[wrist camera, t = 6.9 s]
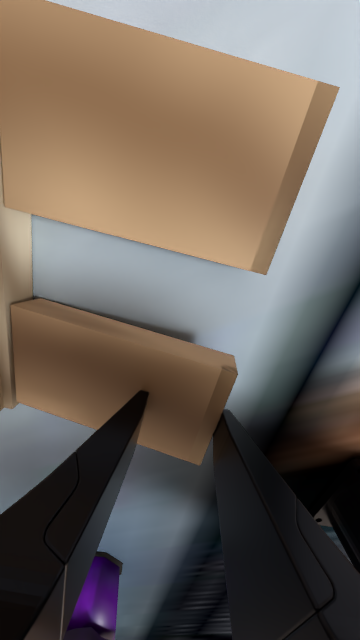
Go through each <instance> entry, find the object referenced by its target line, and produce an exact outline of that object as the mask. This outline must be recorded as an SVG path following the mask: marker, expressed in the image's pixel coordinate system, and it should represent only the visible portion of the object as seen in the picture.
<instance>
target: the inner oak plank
mask: <svg viewBox="0 0 360 640" xmlns="http://www.w3.org/2000/svg"><path fill="white" fill-rule="evenodd" d="M11 320H12V336H13V352H14V368H15V383H16V399H17V402H19V403H22V404H24V405H27V406H30V407H33V408H36V409H39V410H42V411H45V412H47V413H50V414H53V415H56V416H59V417H62V418H65V419H68V420H70V421H73V422H76V423H79V424H82V425H85V426H88V427H90V428H93V429H96V430H98V429H99V428H100V427H101V426H102V425H103V424H104V423H105V422H107V421H108V420H109V419H110V418H111V417H112V416H113V415H114V414H115V413H116V412H117V411H118V410H119V409H120V408H121V407H122V406H123V405H125V404H126V403H127V402H128V401H129V400H130V399H131V398H132V397H133V396H134V395H135V394H136V393H137V392H138V391H139V390H144V391H148V392H149V397H148V401H147V406H146V410H145V414H144V418H143V421H142V425H141V429H140V433H139V437H138V440H137V444H139V445H142V446H145V447H148V448H151V449H154V450H157V451H159V452H162V453H165V454H168V455H171V456H174V457H177V458H180V459H182V460H185V461H188V462H191V463H194V464H197V465H201V462H202V460H203V457H204V455H205V453H206V450H207V448H208V445H209V443H210V440H211V438H212V436H213V433H214V431H215V428H216V426H217V424H218V421H219V419H220V416H221V414H222V412H223V409H224V407H225V404H226V402H227V400H228V397H229V395H230V392H231V390H232V387H233V385H234V383H235V380H236V378H237V375H238V372H237V368H236V363H235V358H234V356H233V355H230V354H226V353H223V352H220V351H216V350H213V349H210V348H206V347H203V346H200V345H196V344H193V343H189V342H186V341H183V340H179V339H176V338H173V337H169V336H166V335H163V334H159V333H156V332H153V331H149V330H146V329H143V328H139V327H136V326H132V325H129V324H126V323H122V322H119V321H116V320H112V319H109V318H106V317H102V316H99V315H96V314H92V313H89V312H86V311H82V310H79V309H75V308H72V307H69V306H65V305H62V304H59V303H55V302H52V301H49V300H45V299H42V298H39V299H34V300H30V301H26V302H21V303H17V304H12V305H11Z"/></svg>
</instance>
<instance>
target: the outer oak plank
mask: <svg viewBox="0 0 360 640" xmlns="http://www.w3.org/2000/svg"><path fill="white" fill-rule="evenodd" d="M339 88H340V87H337V86H333V85H330V84H326V83H323V82H320V81H316V80H313V79H309V78H306V77H303V76H299V75H296V74H292V73H289V72H286V71H282V70H279V69H276V68H272V67H269V66H265V65H262V64H259V63H255V62H252V61H248V60H245V59H242V58H238V57H235V56H232V55H228V54H225V53H221V52H218V51H215V50H211V49H208V48H204V47H201V46H198V45H194V44H191V43H188V42H184V41H181V40H177V39H174V38H171V37H167V36H164V35H160V34H157V33H154V32H150V31H147V30H144V29H140V28H137V27H133V26H130V25H127V24H123V23H120V22H116V21H113V20H110V19H106V18H103V17H100V16H96V15H93V14H89V13H86V12H83V11H79V10H76V9H72V8H69V7H66V6H62V5H59V4H56V3H52V2H49V1H45V0H0V136H1V152H2V169H3V185H4V201H5V207H6V208H10V209H14V210H18V211H22V212H25V213H29V214H33V215H37V216H41V217H45V218H49V219H52V220H56V221H60V222H64V223H68V224H72V225H75V226H79V227H83V228H87V229H91V230H95V231H99V232H102V233H106V234H110V235H114V236H118V237H122V238H125V239H129V240H133V241H137V242H141V243H145V244H148V245H152V246H156V247H160V248H164V249H168V250H172V251H175V252H179V253H183V254H187V255H191V256H195V257H198V258H202V259H206V260H210V261H214V262H218V263H222V264H225V265H229V266H233V267H237V268H241V269H245V270H248V271H252V272H256V273H260V274H264V275H266V274H267V272H268V269H269V266H270V264H271V261H272V259H273V256H274V254H275V251H276V249H277V246H278V243H279V241H280V238H281V236H282V233H283V231H284V228H285V226H286V223H287V221H288V218H289V215H290V213H291V210H292V208H293V205H294V203H295V200H296V198H297V195H298V192H299V190H300V187H301V185H302V182H303V180H304V177H305V175H306V172H307V170H308V167H309V164H310V162H311V159H312V157H313V154H314V152H315V149H316V147H317V144H318V141H319V139H320V136H321V134H322V131H323V129H324V126H325V124H326V121H327V118H328V116H329V113H330V111H331V108H332V106H333V103H334V101H335V98H336V96H337V93H338V90H339Z"/></svg>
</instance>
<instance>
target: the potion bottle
mask: <svg viewBox="0 0 360 640" xmlns="http://www.w3.org/2000/svg"><path fill="white" fill-rule="evenodd" d="M122 564H123V563H122V562H120V561H118V560H117V559H115V558H114V557H112V556H111V555H109V554H107V553H103V552H96V554H95V556H94V559H93V562H92V564H91V567H90V570H89V572H88V575H87V577H86V580H85V583H84V585H83V588H82V591H81V593H80V596H79V598H78V601H77V604H76V606H75V609H74V612H73V614H72V617H71V619H70V622H69V625H68V627H67V630H66V633H65V635H64V638H63V640H114V639H115V630H116V615H117V600H118V586H119V575H121V572H122Z"/></svg>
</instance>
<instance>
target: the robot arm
mask: <svg viewBox="0 0 360 640" xmlns="http://www.w3.org/2000/svg"><path fill="white" fill-rule="evenodd" d="M148 397H149V392H148V391H144V390H139V391H138V392H137V393H136V394H135V395H134V396H133V397H132V398H131V399H130V400H129V401H128V402H127V403H126V404H125V405H123V406H122V407H121V408H120V409H119V410H118V411H117V412H116V413H115V414H114V415H113V416H112V417H111V418H110V419H109V420H108V421H107V422H105V423H104V424H103V425H102V426H101V427H100V428H99V429H98V430H97V431H96V432H95V433H94V434H93V435H92V436H91V437H90V438H89V439H87V440H86V441H85V442H84V443H83V444H82V445H81V446H80V447H79V448H78V449H77V450H76V452H74V453H72V454H71V455H70V456H69V457H68V458H67V459H66V460H65V461H64V462H63V463H62V464H61V465H60V466H59V467H57V468H56V469H55V470H54V471H53V472H52V473H51V474H50V475H48V476H47V477H46V478H45V479H44V480H43V481H41V482H40V483H39V484H38V485H37V486H35V487H34V488H33V489H32V490H30V491H29V492H28V493H27V494H26V495H24V496H23V497H22V498H21V499H19V500H18V501H17V502H16V503H14V504H13V505H12V506H11V507H9V508H8V509H7V510H5V511H4V512H3V513H2V514H0V640H63V638H64V635H65V633H66V630H67V627H68V625H69V622H70V619H71V617H72V614H73V612H74V609H75V606H76V604H77V601H78V598H79V596H80V593H81V591H82V588H83V585H84V583H85V580H86V577H87V575H88V572H89V570H90V567H91V564H92V562H93V559H94V556H95V554H96V551H97V549H98V546H99V543H100V541H101V538H102V535H103V533H104V530H105V527H106V525H107V522H108V520H109V517H110V514H111V512H112V509H113V506H114V504H115V501H116V499H117V496H118V493H119V491H120V488H121V485H122V483H123V480H124V478H125V475H126V472H127V470H128V467H129V464H130V462H131V459H132V457H133V454H134V451H135V448H136V444H137V440H138V437H139V433H140V429H141V425H142V421H143V418H144V414H145V410H146V406H147V401H148ZM213 464H214V477H215V486H216V495H217V504H218V513H219V522H220V531H221V540H222V549H223V558H224V566H225V575H226V584H227V593H228V602H229V611H230V620H231V629H232V638H233V640H360V459H353V460H351V461H350V462H349V463H348V464H347V465H346V466H345V468H344V469H343V470H342V471H341V473H340V474H339V475H338V476H337V478H336V479H335V480H334V481H333V483H332V484H331V485H330V486H329V487H328V489H327V490H326V491H325V492H324V494H323V495H322V496H321V497H320V499H319V500H318V501H317V502H316V504H315V505H314V506H313V507H312V509H311V510H310V511H309V512H308V511H307V509H306V508H305V507H304V505H303V504H302V503H301V502H300V500H299V499H297V498H296V495H295V494H294V493H293V491H292V490H291V489H290V487H289V486H288V485H287V484H286V482H285V481H284V480H283V478H282V477H281V476H280V475H279V473H278V472H277V471H276V469H275V468H274V467H273V466H272V464H271V463H270V462H269V460H268V459H267V458H266V456H265V455H264V454H263V453H262V451H261V450H260V449H259V447H258V446H257V445H256V444H255V442H254V441H253V440H252V438H251V437H250V436H249V435H248V433H247V432H246V431H245V429H244V428H243V427H242V426H241V424H240V423H239V422H238V420H237V419H236V418H235V416H234V415H233V414H232V413H231V411H230V410H227V409H223V412H222V414H221V416H220V419H219V421H218V424H217V426H216V428H215V431H214V433H213ZM319 525H324V526H330V527H333V529H334V531H335V533H336V534H337V536H338V538H339V540H340V542H341V544H342V545H343V547H344V549H345V551H346V553H347V555H348V556H349V558H350V560H351V562H352V564H353V565H352V564H351V563H350V562H349V560H348V559H347V558H346V557H345V556H344V555H343V553H342V552H341V551H340V550H339V549H338V547H337V546H336V545H335V544H334V543H333V541H332V540H331V539H330V538H329V537H328V536H327V534H326V533H325V532H324V531H323V529H322V528H321V527H320V526H319Z"/></svg>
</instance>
